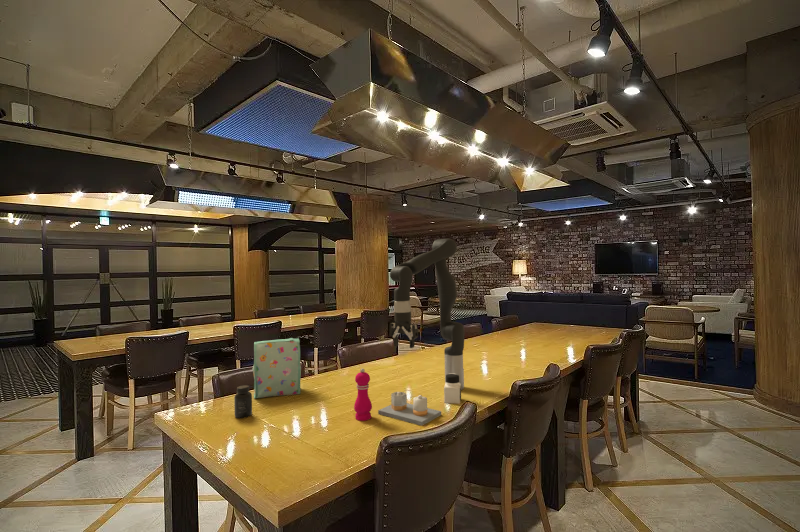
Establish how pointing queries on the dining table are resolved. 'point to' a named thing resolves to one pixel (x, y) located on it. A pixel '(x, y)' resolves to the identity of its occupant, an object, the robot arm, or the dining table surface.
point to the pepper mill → (362, 397)
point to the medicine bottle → (452, 389)
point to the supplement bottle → (243, 402)
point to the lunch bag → (276, 368)
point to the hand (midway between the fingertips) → (404, 346)
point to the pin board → (412, 412)
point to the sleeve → (399, 401)
